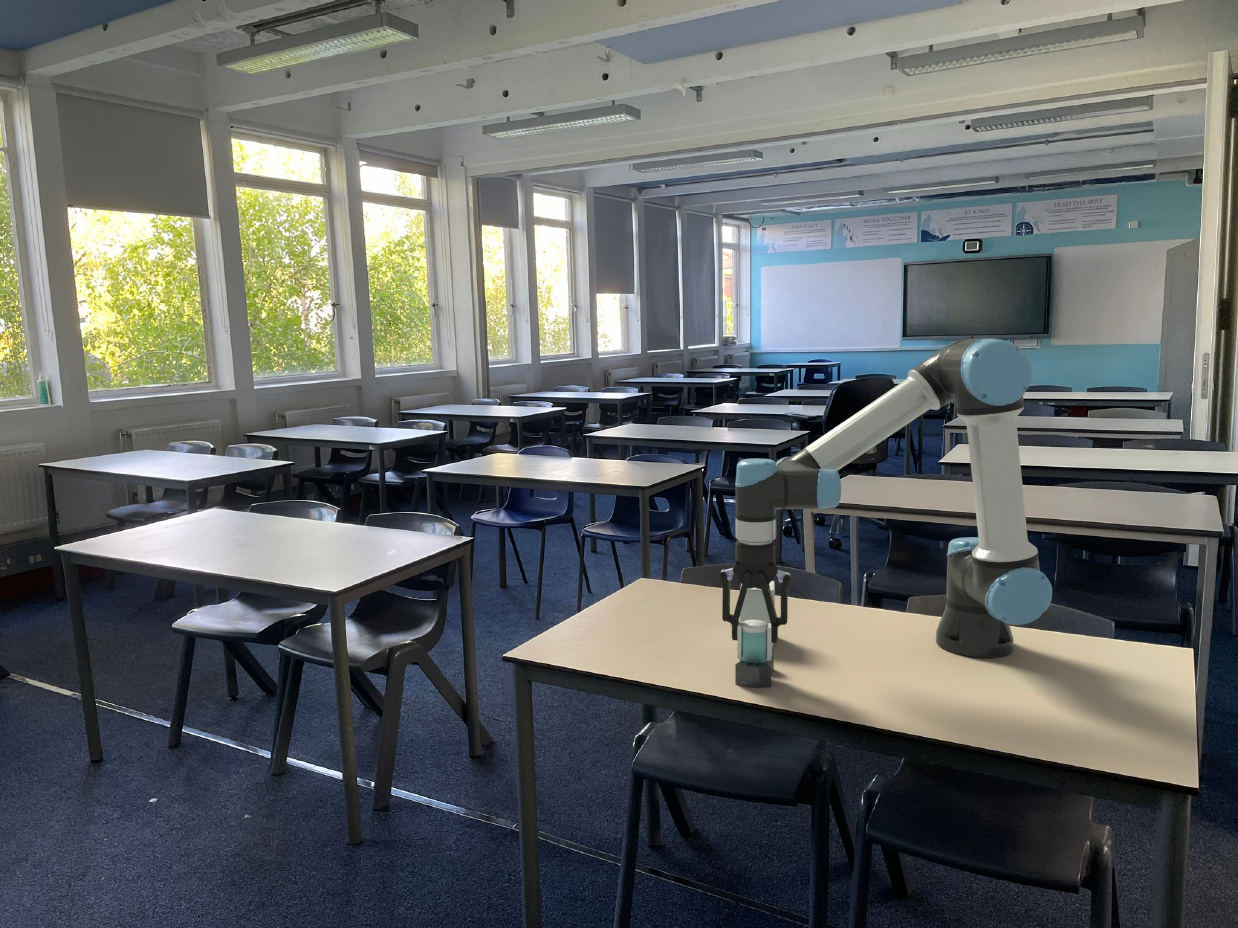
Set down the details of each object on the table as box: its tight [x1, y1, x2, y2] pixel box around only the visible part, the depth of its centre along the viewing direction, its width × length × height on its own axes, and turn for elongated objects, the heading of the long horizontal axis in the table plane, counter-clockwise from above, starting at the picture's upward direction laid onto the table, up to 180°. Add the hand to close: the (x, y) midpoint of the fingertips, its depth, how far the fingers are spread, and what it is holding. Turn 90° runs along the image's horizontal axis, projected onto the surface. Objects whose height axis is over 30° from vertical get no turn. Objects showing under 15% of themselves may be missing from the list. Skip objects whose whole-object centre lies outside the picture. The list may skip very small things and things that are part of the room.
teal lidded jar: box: [742, 620, 768, 663], centre depth 167 cm, size 5×5×7 cm
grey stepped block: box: [734, 649, 775, 689], centre depth 168 cm, size 7×11×4 cm, turn 167°
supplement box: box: [739, 580, 776, 648], centre depth 187 cm, size 7×7×13 cm
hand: (754, 656), depth 167 cm, fingers closed on teal lidded jar, 5 cm apart
